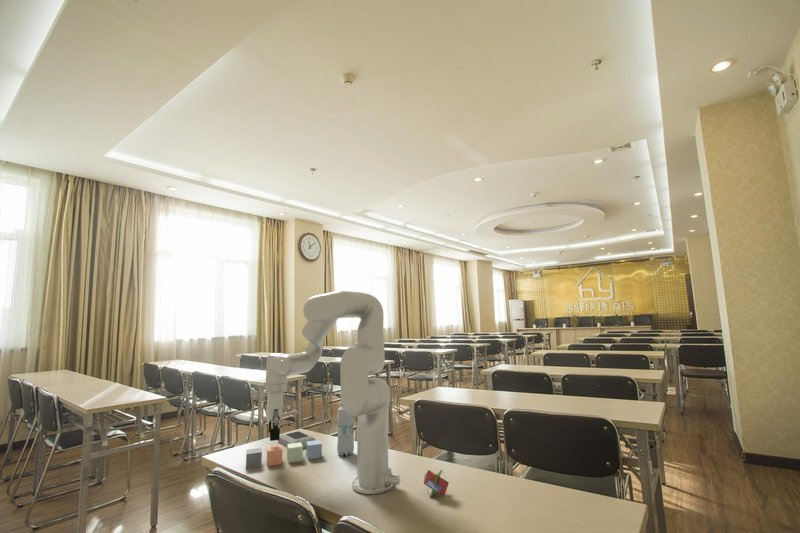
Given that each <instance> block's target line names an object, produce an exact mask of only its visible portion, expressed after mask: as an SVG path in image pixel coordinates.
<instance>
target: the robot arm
mask: <svg viewBox="0 0 800 533" xmlns="http://www.w3.org/2000/svg"><path fill="white" fill-rule="evenodd" d="M302 313H303V316H304V318H305V319H306V320H307V321H306V322H305V324H304V325H303V326H302V328H301V334H302V336H303V337H304V338H305V340H307V341H308V343H307V345H306V347H305V348H304V350H303V351H302V352H297V353H290V354H289V353H283V352H272V353H270V354H268V355H267V356H266V367H265V368H266V370H265V386H264V387H265V391H264V392H265V393H266V394H267V400H266V416H265V417H266V422H268V433H269V441H270V442H274V441H275V442H276V441H278V440H279V438H280V435H281V427H280V421H282V417H283V404H284V393H287V388H288V386H287V384H288V377H290V376H291V377H292V376H295V375H301V374H304V373H305V374H306V373H307V372H309V371H311V370H312V369H313V368H314V367H315V365H316V364H317V363H318V362H319V360H320V359H321V356H322V354H323V350H324V349H323V348H324V340H325V338H326V337H327V335H328V334H329V332H330V331H331V329H332V328H333V326H334V325H335V323H336V322H337V321H338V319H345V318H346V319H347V318H348V319H350V318H351V319H352V318H354V319H355V318H359V320H360V321H359V324H358V327H357V333H356V335H357V344H356V345H353V346H350V347H348V348H347V349H346V350H345V351H344V353H343V355H342V356H341V360H340V366H339V369H340V371H339V373H340V381H339V382H340V399H341V401H340V402H342V406H343V408H344V410H345V412H346V413H347V414H348V415H350V416H353V417H354V418H355V417H357V418H358V419H357V432H356V433H357V434H356V435H357V436H356V438H357V439H356V442H357V445H356V446H357V449H356V450H357V452H356V453H357V454H356V455H357V458H356V459H357V468H356V470H357V471H356V472H357V474H356V475H357V477H355V478H354V479H353V480H352V482H351V483H352V484H351V486H352V487H351V488H352V489H353V490H354V491H355V492H357V493H360V494H364V495H378V494H382V493H386V492H388V491H390V490H391V489H392V488H393V487H394V486H400V484H401V477H400V474H393V472H392V467H389V411H390V410H389V409H390V403H391V389H390V386H389V385H388V383H387V382H386V381H385V380H383V379H382V378H379V377H371V378H369V376H370V375H375V374H377V373H379V372H381V371H382V370H383V369H384V367H385V356H386V354H385V352H386V351H385V335H384V309H383V306H382V304H381V302H380V300H378V298H377V297H375V296H373V295H372V294H370V293H367V292H366V293H365V292H361V291H359V292H358V291H348V290H337V291H332V292H328V293H323V294H318V295H314V296H311V297H310V298H308V299H307V300H306V301H305V303H304V305H303V310H302Z"/></svg>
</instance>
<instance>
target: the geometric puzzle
mask: <svg viewBox="0 0 800 533" xmlns="http://www.w3.org/2000/svg"><path fill="white" fill-rule="evenodd" d="M442 473H443V476H444V478H442V477H441V475H442ZM423 475H424V476H423V477H424V478H423V484H424V486H425V487H426V489H425V490H426V491H427V493H428V494H429V491H428V488H430V489H431V490H432V491H431V493H430V494H429V497H430V496H431V495H432V496H431V497H434V495H436V494H439V493H440V494H439V495H441V496H442V495H443V496H442V497H444V496H446V493H447V490H448V487H449V483H450V482H449V481H447V478H446V477H445V476H446V475H445V473H444V471H443V469H440V470H439V471H438V472H437V473H435V472H433V471H432V470H429V469H428V470H427V471H426V473H425V474H423ZM427 487H428V488H427ZM435 491H436V492H435Z"/></svg>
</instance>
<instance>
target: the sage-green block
mask: <svg viewBox="0 0 800 533" xmlns="http://www.w3.org/2000/svg"><path fill="white" fill-rule="evenodd" d="M303 449H304V448H303V446H302V443H301V442H300V443H292V444H287V447H286V459H287V460H286V461H287V464H290V463H296V462H303V458H304V457H303V453H304V452H303Z"/></svg>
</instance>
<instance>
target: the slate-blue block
mask: <svg viewBox="0 0 800 533" xmlns="http://www.w3.org/2000/svg"><path fill="white" fill-rule="evenodd" d="M322 450H323V444H322V442H321V440H320V439H315V441H307V442H306V448H305V456H307V457H306V459H307V460H308V459H310V460H315V459H314V458H317V459H320V458H319V457H323V456H322V453H323V452H322Z"/></svg>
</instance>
